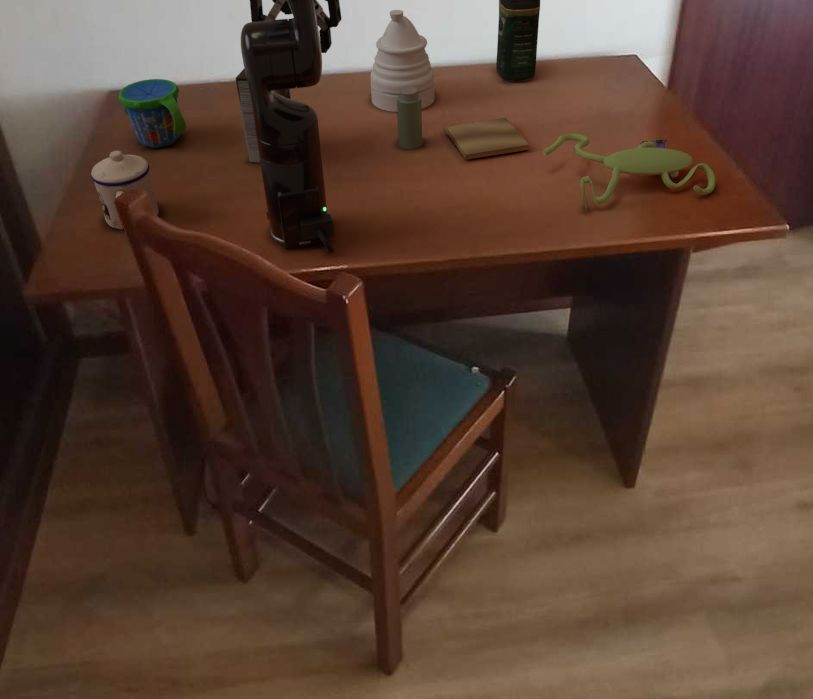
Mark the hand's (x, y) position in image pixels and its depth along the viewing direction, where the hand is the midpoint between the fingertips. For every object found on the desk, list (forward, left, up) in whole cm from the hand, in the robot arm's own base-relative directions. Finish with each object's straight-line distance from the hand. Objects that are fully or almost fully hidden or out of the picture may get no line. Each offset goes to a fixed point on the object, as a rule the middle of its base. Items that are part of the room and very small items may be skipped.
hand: (299, 50), depth 142 cm
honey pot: (+23, -23, -21) cm, 39 cm away
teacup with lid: (-9, +32, -21) cm, 39 cm away
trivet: (-1, -32, -21) cm, 39 cm away
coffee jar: (+27, -49, -21) cm, 60 cm away
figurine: (-22, -50, -21) cm, 59 cm away
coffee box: (+8, +6, -21) cm, 24 cm away
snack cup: (+20, +26, -21) cm, 39 cm away
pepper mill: (+3, -19, -21) cm, 29 cm away
